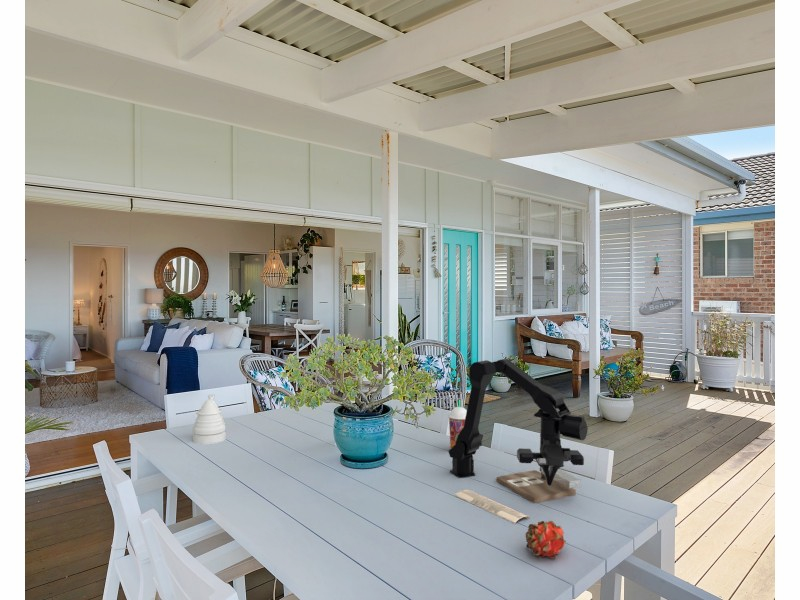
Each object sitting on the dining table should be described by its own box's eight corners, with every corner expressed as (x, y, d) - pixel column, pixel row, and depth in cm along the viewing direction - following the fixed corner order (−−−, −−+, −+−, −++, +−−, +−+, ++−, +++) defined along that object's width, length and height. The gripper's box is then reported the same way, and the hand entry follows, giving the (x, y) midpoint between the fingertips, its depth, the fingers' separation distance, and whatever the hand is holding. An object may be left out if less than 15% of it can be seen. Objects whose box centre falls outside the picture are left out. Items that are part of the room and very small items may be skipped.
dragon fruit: (525, 568, 120) (556, 559, 128) (552, 558, 115) (583, 549, 123) (511, 529, 125) (542, 523, 132) (537, 518, 120) (567, 512, 127)
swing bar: (536, 470, 170) (536, 462, 170) (546, 468, 171) (547, 461, 171) (569, 488, 155) (569, 479, 155) (580, 486, 156) (580, 478, 156)
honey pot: (200, 434, 223) (200, 392, 222) (230, 435, 222) (230, 393, 222) (187, 443, 210) (187, 399, 209) (218, 444, 209) (218, 399, 209)
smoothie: (469, 448, 206) (470, 397, 206) (470, 454, 198) (470, 402, 197) (448, 447, 207) (448, 397, 207) (448, 454, 199) (448, 401, 198)
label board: (534, 503, 153) (534, 490, 153) (496, 481, 171) (496, 470, 170) (575, 494, 160) (576, 482, 160) (535, 474, 177) (535, 463, 177)
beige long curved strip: (529, 520, 143) (529, 514, 143) (512, 527, 139) (512, 521, 139) (469, 493, 162) (469, 488, 162) (452, 499, 158) (452, 493, 158)
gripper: (523, 440, 148) (522, 494, 149) (590, 442, 147) (588, 497, 148) (517, 429, 160) (516, 479, 160) (579, 431, 158) (577, 482, 159)
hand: (549, 484), depth 156 cm, fingers closed
